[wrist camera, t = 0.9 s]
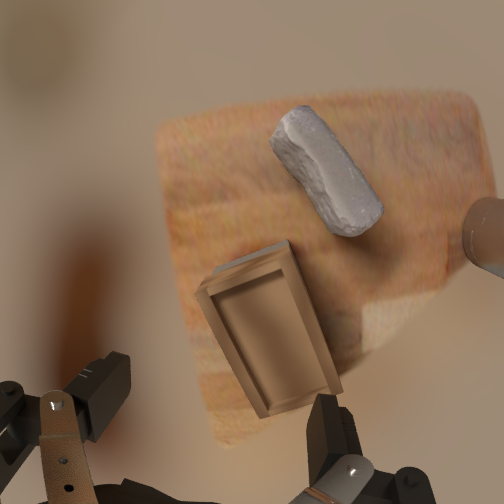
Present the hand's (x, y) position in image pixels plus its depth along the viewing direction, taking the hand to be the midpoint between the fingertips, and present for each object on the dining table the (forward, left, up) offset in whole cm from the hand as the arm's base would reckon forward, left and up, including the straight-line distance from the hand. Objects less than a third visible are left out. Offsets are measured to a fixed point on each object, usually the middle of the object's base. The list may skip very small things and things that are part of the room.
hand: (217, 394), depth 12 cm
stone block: (-10, -6, -24) cm, 27 cm away
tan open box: (0, +7, -21) cm, 22 cm away
